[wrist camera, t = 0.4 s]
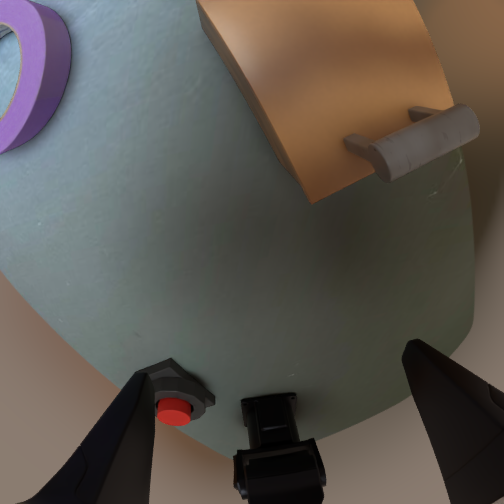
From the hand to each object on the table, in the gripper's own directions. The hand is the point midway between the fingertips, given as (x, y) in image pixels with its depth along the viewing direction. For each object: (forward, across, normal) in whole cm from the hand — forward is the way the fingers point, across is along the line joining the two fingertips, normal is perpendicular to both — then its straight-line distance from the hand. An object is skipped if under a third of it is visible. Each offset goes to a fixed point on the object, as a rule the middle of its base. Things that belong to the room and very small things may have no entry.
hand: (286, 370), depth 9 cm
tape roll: (+14, +17, -13) cm, 26 cm away
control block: (+14, +8, +19) cm, 25 cm away
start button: (+12, +8, +19) cm, 24 cm away
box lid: (+8, -5, -10) cm, 14 cm away
